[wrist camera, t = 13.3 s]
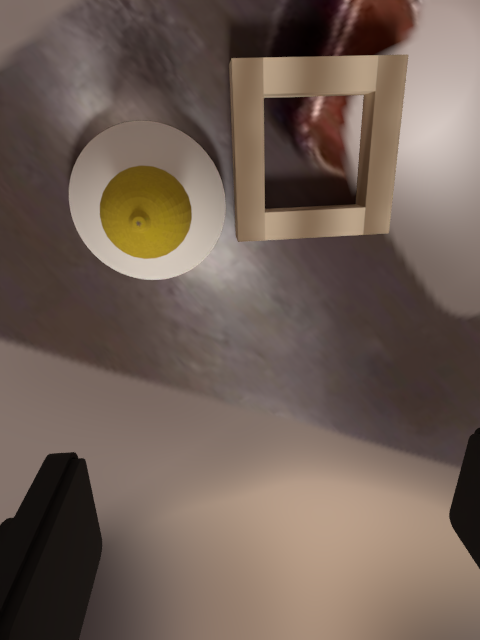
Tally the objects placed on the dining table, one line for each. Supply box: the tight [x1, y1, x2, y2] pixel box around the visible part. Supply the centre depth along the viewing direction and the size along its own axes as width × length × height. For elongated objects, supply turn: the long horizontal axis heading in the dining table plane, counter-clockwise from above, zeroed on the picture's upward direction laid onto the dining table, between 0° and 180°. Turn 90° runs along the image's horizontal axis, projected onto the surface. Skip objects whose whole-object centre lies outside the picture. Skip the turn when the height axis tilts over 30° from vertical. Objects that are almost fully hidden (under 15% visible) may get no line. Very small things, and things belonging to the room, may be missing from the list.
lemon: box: [100, 165, 192, 259], centre depth 25 cm, size 6×6×8 cm
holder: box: [229, 55, 408, 242], centre depth 28 cm, size 12×12×2 cm
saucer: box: [69, 121, 226, 280], centre depth 29 cm, size 11×11×1 cm
